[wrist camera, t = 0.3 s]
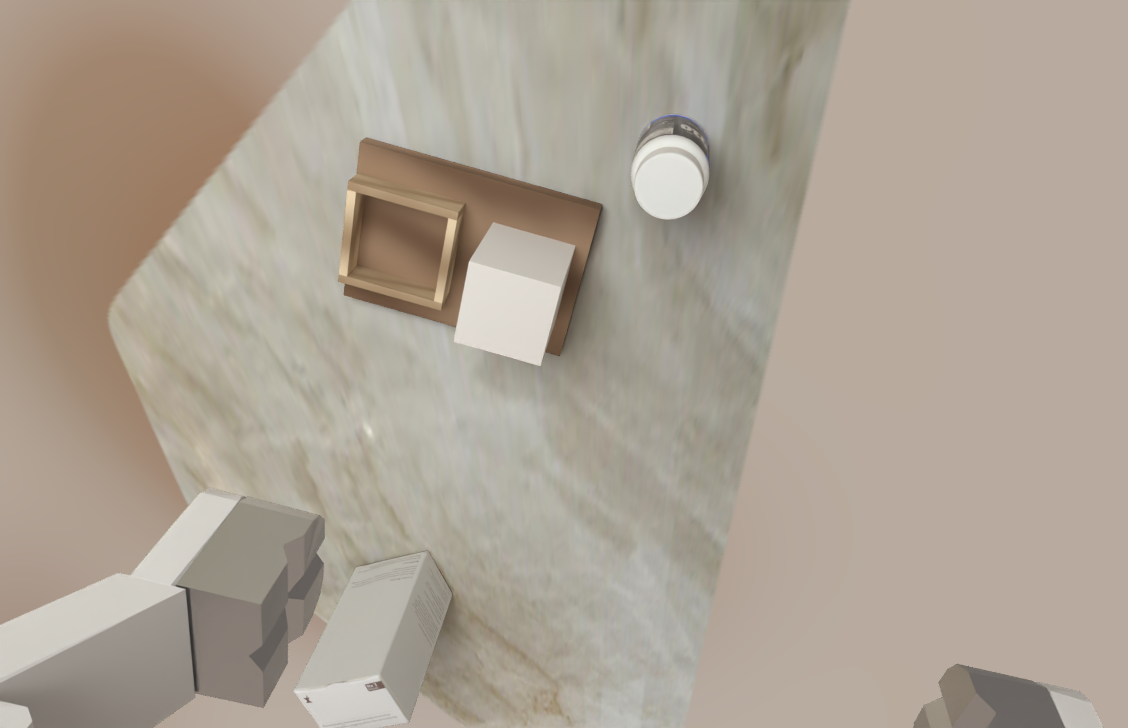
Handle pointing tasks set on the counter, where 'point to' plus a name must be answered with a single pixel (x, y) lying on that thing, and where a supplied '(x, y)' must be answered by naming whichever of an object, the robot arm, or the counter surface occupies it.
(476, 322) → the block
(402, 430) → the counter surface
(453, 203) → the board
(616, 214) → the counter surface
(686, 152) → the pill bottle
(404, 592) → the skincare box
